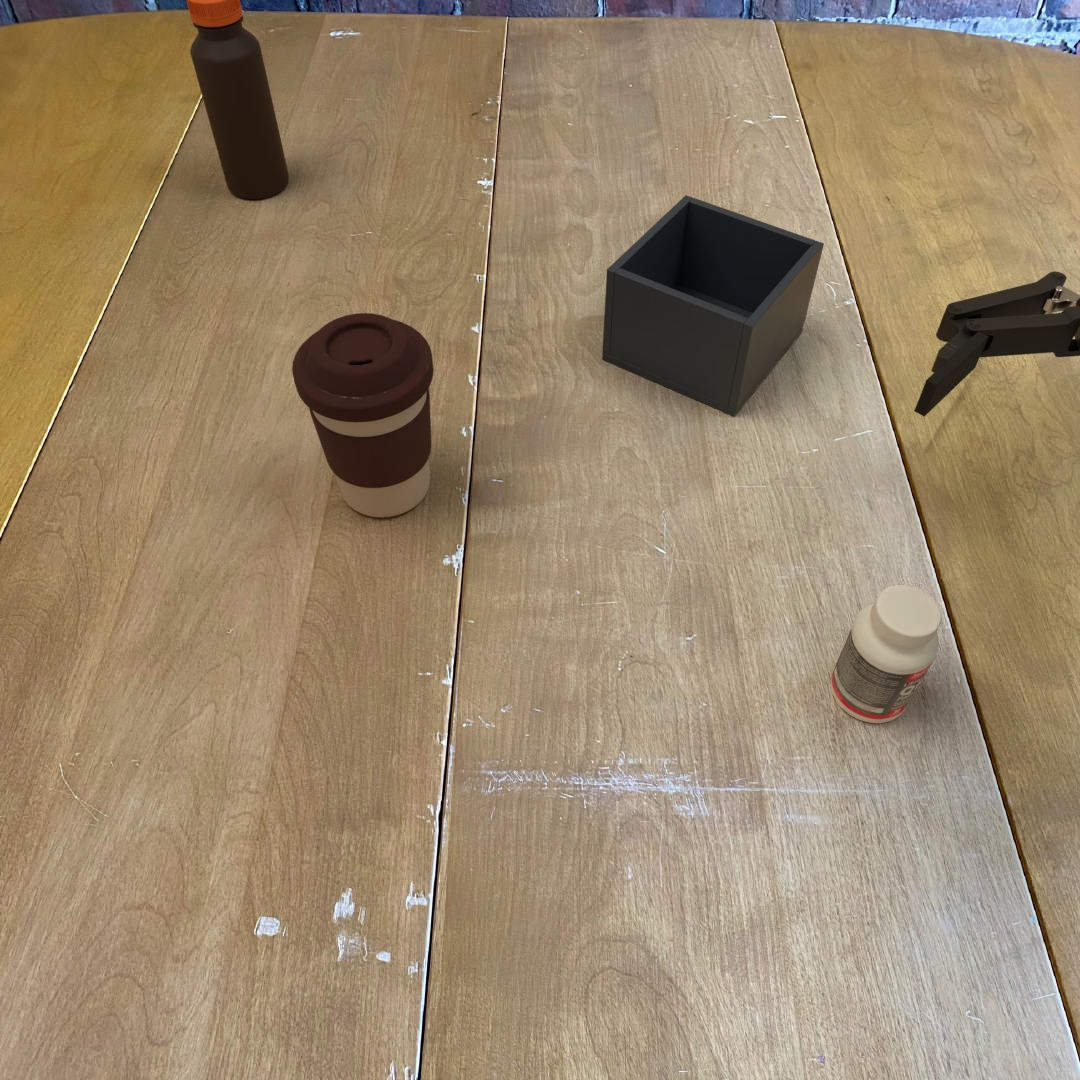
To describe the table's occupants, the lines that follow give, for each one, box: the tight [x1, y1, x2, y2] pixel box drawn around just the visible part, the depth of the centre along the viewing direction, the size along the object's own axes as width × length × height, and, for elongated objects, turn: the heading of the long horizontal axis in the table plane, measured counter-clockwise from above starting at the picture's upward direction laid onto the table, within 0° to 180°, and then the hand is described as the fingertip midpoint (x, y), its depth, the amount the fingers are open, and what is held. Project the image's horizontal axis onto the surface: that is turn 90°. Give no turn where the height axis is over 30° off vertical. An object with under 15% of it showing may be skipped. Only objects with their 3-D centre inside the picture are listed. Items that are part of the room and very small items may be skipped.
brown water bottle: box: [186, 0, 290, 200], centre depth 102 cm, size 7×7×20 cm
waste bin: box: [601, 195, 825, 417], centre depth 88 cm, size 14×14×10 cm
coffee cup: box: [291, 312, 434, 518], centre depth 75 cm, size 10×10×15 cm
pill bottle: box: [829, 584, 942, 724], centre depth 65 cm, size 5×5×10 cm
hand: (1024, 452), depth 60 cm, fingers open, 13 cm apart
